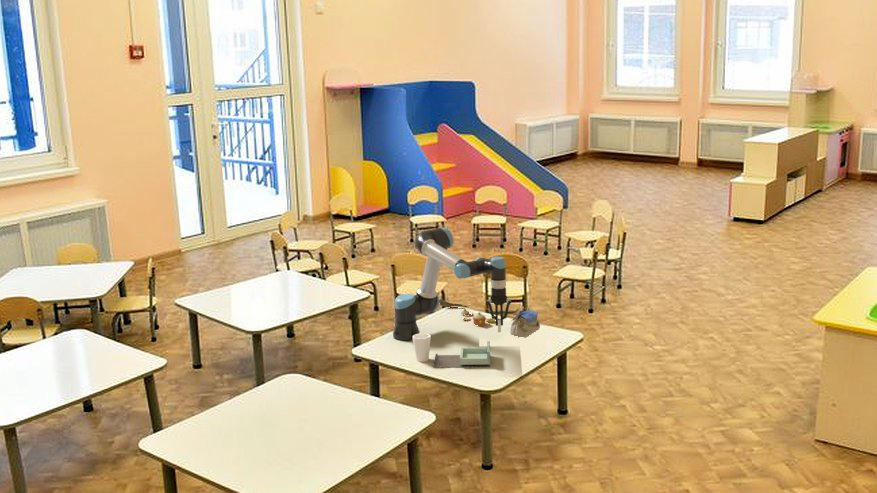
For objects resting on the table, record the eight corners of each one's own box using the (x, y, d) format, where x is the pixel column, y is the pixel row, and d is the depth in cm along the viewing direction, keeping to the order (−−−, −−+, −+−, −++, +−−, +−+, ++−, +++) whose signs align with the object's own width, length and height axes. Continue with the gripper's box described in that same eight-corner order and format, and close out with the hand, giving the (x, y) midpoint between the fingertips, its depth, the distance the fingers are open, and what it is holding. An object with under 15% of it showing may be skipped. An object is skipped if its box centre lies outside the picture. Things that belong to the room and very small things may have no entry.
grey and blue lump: (523, 324, 511) (523, 298, 508) (549, 328, 503) (549, 301, 500) (504, 337, 489) (504, 309, 486) (530, 340, 481) (530, 313, 478)
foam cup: (432, 356, 460) (431, 333, 457) (430, 362, 451) (429, 338, 448) (414, 356, 461) (413, 333, 458) (412, 362, 451) (411, 338, 449)
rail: (435, 355, 461) (435, 353, 460) (490, 355, 459) (490, 353, 458) (433, 367, 443) (433, 365, 443) (490, 367, 441) (490, 364, 441)
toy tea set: (500, 325, 511) (500, 309, 509) (482, 331, 501) (482, 315, 499) (468, 317, 529) (468, 302, 527) (450, 323, 519) (450, 307, 517)
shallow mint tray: (461, 354, 459) (460, 341, 458) (489, 354, 458) (489, 341, 457) (460, 365, 442) (459, 352, 441) (489, 365, 441) (489, 352, 440)
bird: (470, 312, 538) (469, 297, 536) (466, 316, 531) (466, 300, 529) (442, 310, 544) (442, 295, 542) (438, 314, 537) (438, 298, 535)
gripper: (485, 289, 438) (486, 333, 443) (511, 288, 437) (512, 333, 442) (485, 285, 445) (486, 329, 450) (511, 285, 445) (511, 329, 449)
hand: (499, 331), depth 446 cm, fingers closed
